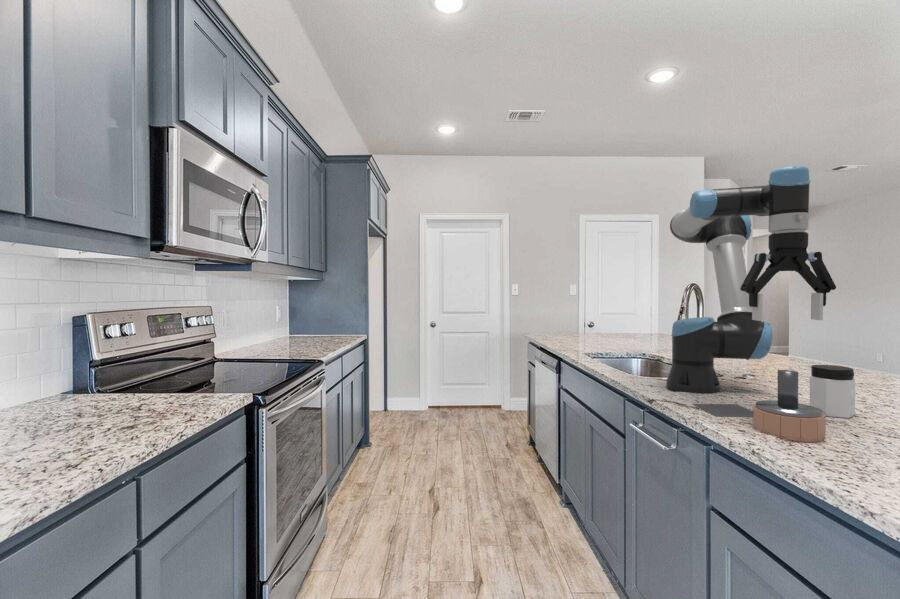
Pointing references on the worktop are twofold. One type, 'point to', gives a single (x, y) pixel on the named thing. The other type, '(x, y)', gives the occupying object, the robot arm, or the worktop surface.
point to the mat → (725, 410)
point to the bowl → (790, 426)
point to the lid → (788, 399)
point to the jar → (833, 390)
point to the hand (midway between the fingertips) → (786, 320)
